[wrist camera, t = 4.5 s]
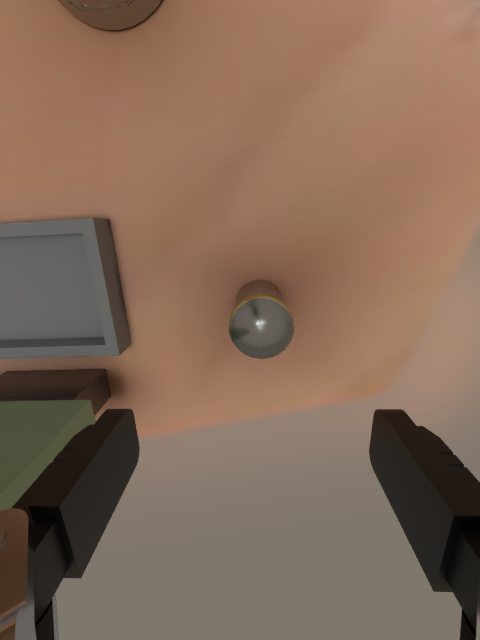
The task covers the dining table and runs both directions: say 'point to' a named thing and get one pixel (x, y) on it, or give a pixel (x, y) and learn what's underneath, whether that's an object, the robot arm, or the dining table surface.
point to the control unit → (42, 421)
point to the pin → (261, 321)
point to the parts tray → (60, 290)
